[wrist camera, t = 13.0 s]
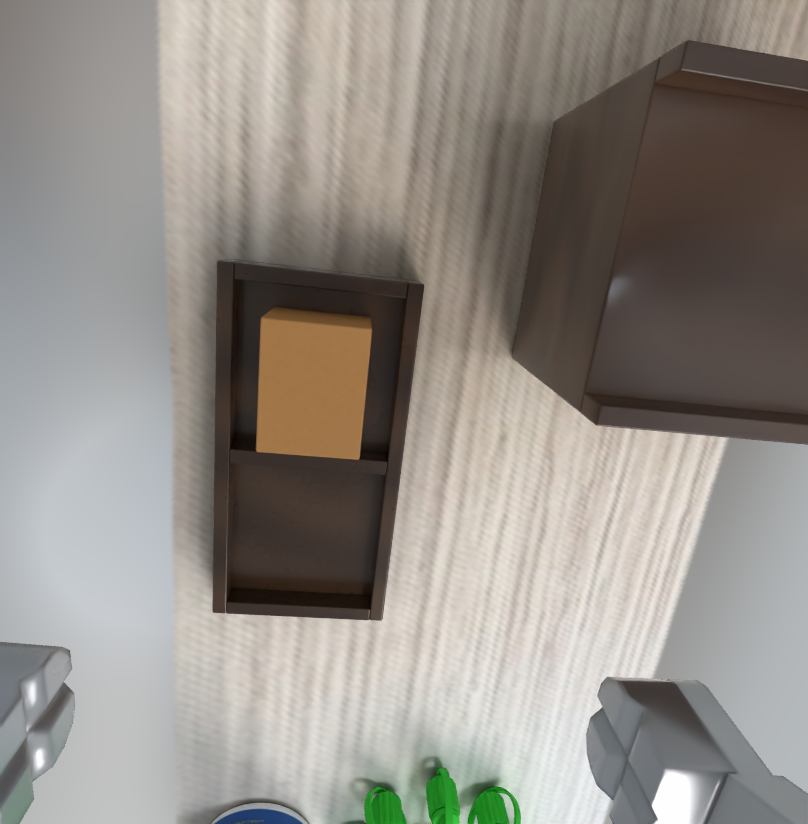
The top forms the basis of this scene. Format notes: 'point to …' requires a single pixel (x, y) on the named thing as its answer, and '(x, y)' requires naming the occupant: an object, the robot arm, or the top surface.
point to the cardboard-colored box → (312, 382)
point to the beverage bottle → (259, 815)
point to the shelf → (307, 475)
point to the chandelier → (441, 804)
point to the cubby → (678, 250)
